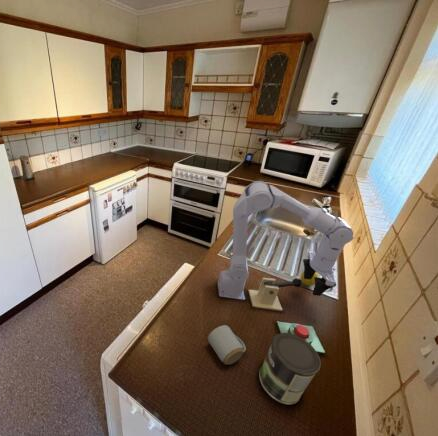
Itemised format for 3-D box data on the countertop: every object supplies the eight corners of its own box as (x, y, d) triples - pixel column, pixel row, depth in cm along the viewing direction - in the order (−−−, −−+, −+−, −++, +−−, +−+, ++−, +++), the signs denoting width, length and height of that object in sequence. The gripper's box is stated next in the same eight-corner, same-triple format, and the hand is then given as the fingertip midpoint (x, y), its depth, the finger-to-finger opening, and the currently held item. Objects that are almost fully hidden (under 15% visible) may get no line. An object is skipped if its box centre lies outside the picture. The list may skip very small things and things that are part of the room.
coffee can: (257, 392, 62) (271, 361, 55) (260, 357, 70) (273, 326, 63) (302, 413, 58) (324, 382, 51) (299, 373, 66) (318, 342, 60)
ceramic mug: (222, 370, 67) (227, 354, 63) (205, 345, 73) (209, 328, 70) (251, 356, 71) (257, 340, 67) (232, 333, 77) (237, 317, 73)
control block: (284, 349, 73) (287, 342, 71) (275, 323, 80) (278, 317, 79) (323, 355, 71) (327, 349, 70) (311, 328, 79) (314, 323, 77)
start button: (296, 337, 73) (298, 334, 72) (292, 327, 76) (294, 323, 75) (309, 339, 73) (311, 336, 72) (304, 329, 76) (306, 325, 75)
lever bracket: (275, 295, 92) (282, 276, 87) (281, 312, 85) (289, 293, 80) (248, 291, 93) (253, 273, 89) (252, 307, 86) (258, 289, 82)
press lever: (300, 282, 84) (300, 275, 83) (304, 288, 81) (303, 281, 80) (264, 287, 88) (263, 281, 86) (266, 293, 85) (265, 287, 84)
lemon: (316, 291, 94) (323, 275, 90) (300, 288, 95) (307, 273, 91) (310, 281, 98) (317, 266, 95) (296, 279, 99) (302, 264, 95)
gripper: (353, 271, 69) (334, 304, 75) (329, 243, 81) (314, 273, 88) (326, 268, 70) (310, 301, 76) (306, 241, 82) (294, 271, 89)
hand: (311, 286), depth 82 cm, fingers open, 7 cm apart
